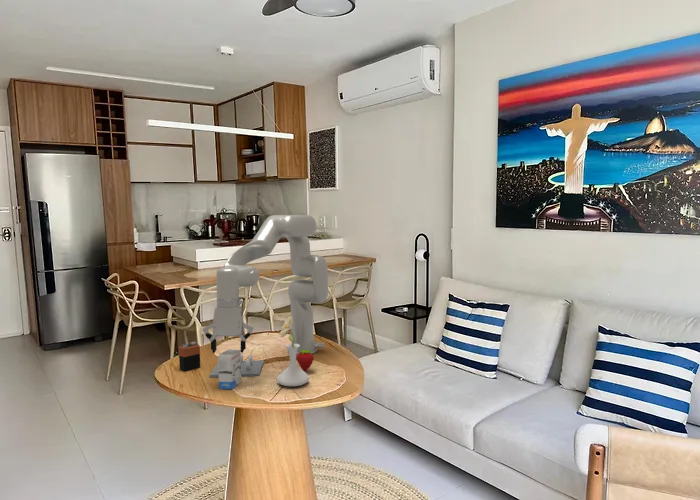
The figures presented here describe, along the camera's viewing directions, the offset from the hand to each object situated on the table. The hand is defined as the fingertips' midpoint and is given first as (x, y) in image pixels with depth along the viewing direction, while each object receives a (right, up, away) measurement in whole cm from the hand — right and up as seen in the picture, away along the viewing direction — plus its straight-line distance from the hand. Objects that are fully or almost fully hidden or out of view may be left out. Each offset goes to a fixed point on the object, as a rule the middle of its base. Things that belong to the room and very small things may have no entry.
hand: (228, 351), depth 168 cm
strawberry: (+26, -11, +15) cm, 32 cm away
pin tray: (-1, -11, +17) cm, 20 cm away
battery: (-20, -11, +19) cm, 30 cm away
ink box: (0, -12, +2) cm, 12 cm away
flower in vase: (+22, -12, +2) cm, 25 cm away
